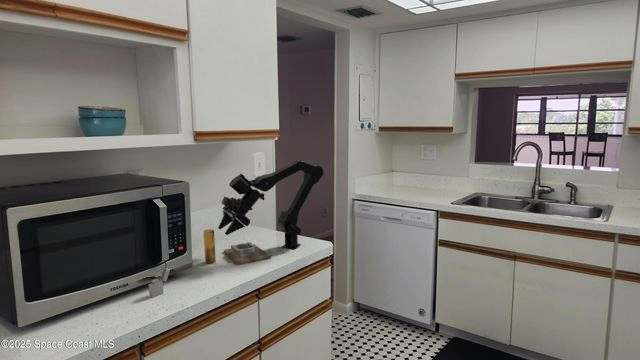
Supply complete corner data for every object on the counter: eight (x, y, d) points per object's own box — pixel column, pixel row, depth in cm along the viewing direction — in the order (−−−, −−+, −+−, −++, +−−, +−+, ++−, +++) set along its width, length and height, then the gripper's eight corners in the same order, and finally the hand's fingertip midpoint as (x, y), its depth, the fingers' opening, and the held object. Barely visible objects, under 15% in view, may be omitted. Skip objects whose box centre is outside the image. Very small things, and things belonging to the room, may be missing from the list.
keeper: (254, 246, 179) (254, 237, 178) (270, 258, 163) (270, 249, 163) (223, 252, 172) (223, 243, 171) (237, 265, 156) (237, 255, 156)
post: (209, 259, 163) (207, 228, 161) (217, 261, 161) (216, 229, 159) (203, 263, 159) (201, 231, 157) (211, 264, 158) (209, 232, 156)
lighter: (152, 298, 129) (150, 274, 128) (149, 296, 130) (147, 273, 129) (171, 290, 135) (170, 267, 133) (168, 289, 136) (167, 266, 134)
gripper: (226, 186, 169) (201, 214, 165) (241, 193, 153) (214, 225, 149) (244, 202, 174) (221, 230, 170) (261, 210, 158) (235, 242, 154)
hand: (222, 231), depth 161 cm, fingers open, 9 cm apart
